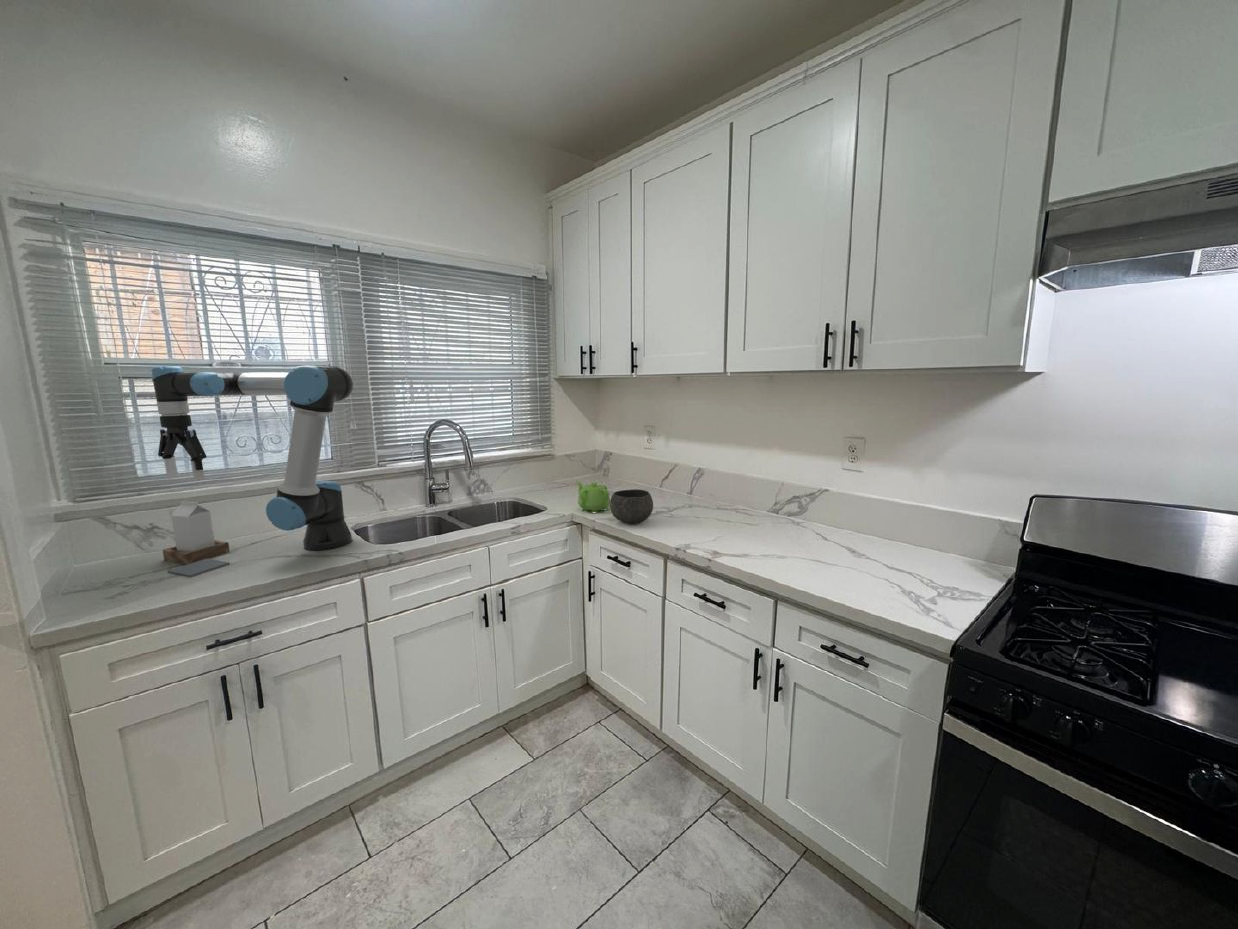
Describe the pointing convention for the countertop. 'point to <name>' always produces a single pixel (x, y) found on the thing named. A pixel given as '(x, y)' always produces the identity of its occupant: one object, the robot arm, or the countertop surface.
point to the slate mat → (198, 567)
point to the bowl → (631, 505)
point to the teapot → (593, 497)
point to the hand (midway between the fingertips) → (186, 478)
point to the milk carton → (192, 527)
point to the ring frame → (196, 553)
